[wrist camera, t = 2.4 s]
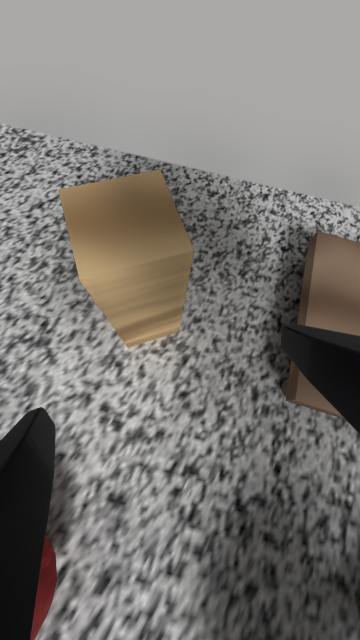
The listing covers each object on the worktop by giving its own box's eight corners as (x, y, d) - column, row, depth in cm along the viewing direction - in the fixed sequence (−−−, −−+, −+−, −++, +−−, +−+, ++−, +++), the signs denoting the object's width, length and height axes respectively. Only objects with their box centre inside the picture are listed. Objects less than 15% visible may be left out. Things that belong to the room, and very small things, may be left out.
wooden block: (178, 331, 23) (194, 250, 10) (128, 347, 22) (79, 280, 10) (163, 287, 24) (160, 169, 12) (114, 300, 23) (58, 189, 11)
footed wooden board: (405, 442, 21) (459, 452, 17) (272, 400, 21) (295, 400, 17) (403, 286, 26) (443, 266, 22) (295, 255, 26) (317, 231, 23)
